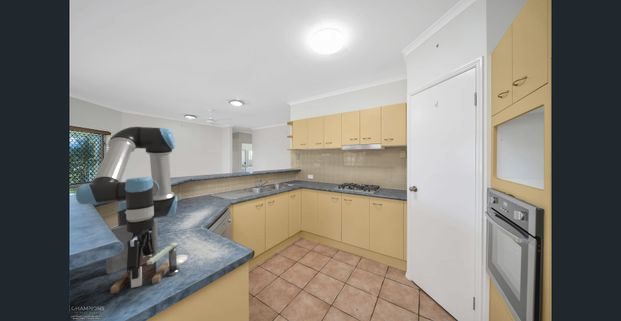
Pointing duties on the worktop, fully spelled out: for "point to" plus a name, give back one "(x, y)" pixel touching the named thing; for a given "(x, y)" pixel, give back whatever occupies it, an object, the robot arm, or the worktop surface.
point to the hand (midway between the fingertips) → (142, 278)
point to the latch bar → (162, 253)
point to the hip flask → (124, 236)
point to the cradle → (124, 279)
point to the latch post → (172, 263)
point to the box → (145, 270)
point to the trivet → (180, 260)
